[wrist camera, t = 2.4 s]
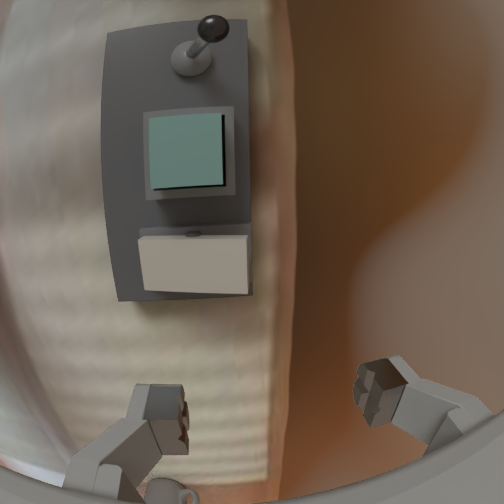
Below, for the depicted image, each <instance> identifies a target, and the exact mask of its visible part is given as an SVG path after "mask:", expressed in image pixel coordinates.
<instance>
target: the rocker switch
mask: <svg viewBox="0 0 504 504" xmlns="http://www.w3.org/2000/svg"><path fill="white" fill-rule="evenodd" d="M138 246H139V254H140V262H141V269H142V276H143V283H144V289H145V290H150V291H170V292H194V293H225V294H248V291H249V255H248V235H202V234H201V231H189V232H186V233H185V235H178V236H143V237H142V238H140V239H138Z"/></svg>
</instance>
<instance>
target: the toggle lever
mask: <svg viewBox="0 0 504 504" xmlns="http://www.w3.org/2000/svg"><path fill="white" fill-rule="evenodd" d="M229 30H230V26H229V23H228V21H227V20H226V19H225V18H223V17H221V16H218V15H210V16H207V17H205V18H203V19H202V20H201V21H200V23H199V24H198V27H197V32H198V37H197V38H196V39H195V40H194V42H193V43H192V44H191V46H190V47H189V48H188V50H187V51H186V56H187V58H189V59H195V58H197V57H198V56H199V55H200V53H201V52H202V51H203V50H204V49H205V48H206V47H207V46H208V45H209V44H210V43H217V42H220V41H222V40H224V39H225V38H226V37H227V35H228V33H229Z"/></svg>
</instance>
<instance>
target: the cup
mask: <svg viewBox="0 0 504 504" xmlns="http://www.w3.org/2000/svg"><path fill="white" fill-rule="evenodd" d="M189 494H192V497H193V500H192V503H191V504H199V502H200V500H199V495H198V493H197V492H196V491H194V490H193V489H184V487H183V486H182V485H181V484H180V483H178V482H176V481H174V480H170V479H163V478H159V479H153V480H151V481H150V482H149V483H148V485H147V489H146V493H145V497H144V501H145V502H146V504H187V501H186V498H187V496H188V495H189Z"/></svg>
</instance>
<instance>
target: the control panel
mask: <svg viewBox="0 0 504 504" xmlns="http://www.w3.org/2000/svg"><path fill="white" fill-rule="evenodd" d="M200 21H201V20H196V21H182V22H172V23H163V24H155V25H148V26H142V27H136V28H130V29H125V30H120V31H115V32H110V33H107V40H106V48H105V58H104V68H103V81H102V99H101V165H102V183H103V197H104V209H105V218H106V227H107V236H108V243H109V250H110V257H111V264H112V270H113V275H114V281H115V287H116V292H117V297H118V301H155V300H180V299H201V298H219V297H236V296H251V295H253V289H252V238H251V188H250V137H249V86H248V34H247V20H231V19H228V20H227V21H228V23H229V26H230V30H229V33H228V35H227V37H226V38H225V39H224V40H222V41H220V42H217V43H210V44H209V45H208V46H207V47H206V48H205V49H204V50H203V51H202V52H201V53H200V55H199V56H198V57H197V58H195V59H189V58H187V56H186V51H187V50H188V48H189V47H190V46H191V44H192V43H193V42H194V40H195V39H196V38H197V37H198V32H197V27H198V24H199V23H200ZM206 113H221V123H222V170H223V184H219V185H200V186H183V187H169V188H156V189H151V182H150V160H149V118H155V117H165V116H176V115H189V114H206ZM189 231H201V234H202V235H248V255H249V291H248V294H225V293H194V292H170V291H150V290H145V289H144V283H143V276H142V269H141V262H140V254H139V246H138V239H140V238H142V237H143V236H178V235H185V233H186V232H189Z"/></svg>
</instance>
